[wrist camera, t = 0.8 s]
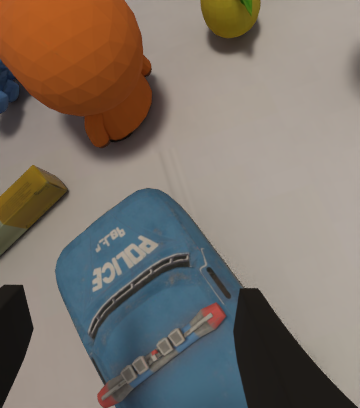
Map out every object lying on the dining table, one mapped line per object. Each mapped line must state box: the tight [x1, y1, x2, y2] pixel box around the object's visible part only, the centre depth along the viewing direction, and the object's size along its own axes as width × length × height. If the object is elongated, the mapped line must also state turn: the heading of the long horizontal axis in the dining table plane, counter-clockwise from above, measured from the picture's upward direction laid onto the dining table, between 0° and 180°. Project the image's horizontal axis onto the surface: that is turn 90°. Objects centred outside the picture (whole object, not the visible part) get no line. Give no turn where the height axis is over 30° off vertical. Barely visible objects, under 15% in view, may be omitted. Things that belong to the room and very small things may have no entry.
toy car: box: [55, 188, 248, 408], centre depth 23 cm, size 12×26×10 cm, turn 36°
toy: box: [0, 0, 152, 148], centre depth 30 cm, size 10×12×15 cm
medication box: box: [0, 165, 68, 255], centre depth 34 cm, size 12×3×4 cm, turn 131°
